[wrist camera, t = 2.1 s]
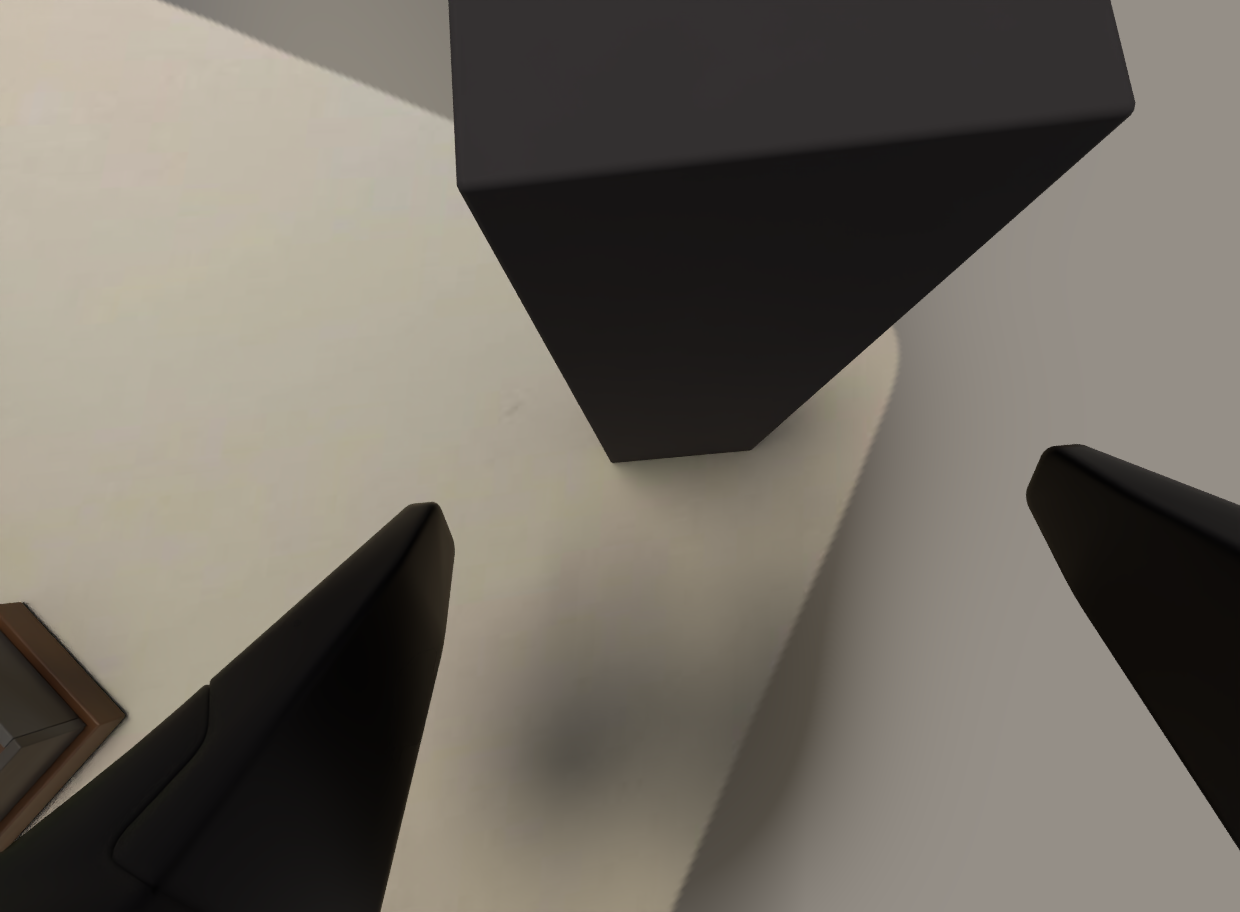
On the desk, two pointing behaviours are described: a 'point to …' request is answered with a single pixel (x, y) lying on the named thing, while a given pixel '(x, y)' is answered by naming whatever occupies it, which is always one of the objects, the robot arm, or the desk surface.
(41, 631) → the seat base
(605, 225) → the back pad
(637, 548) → the desk surface
